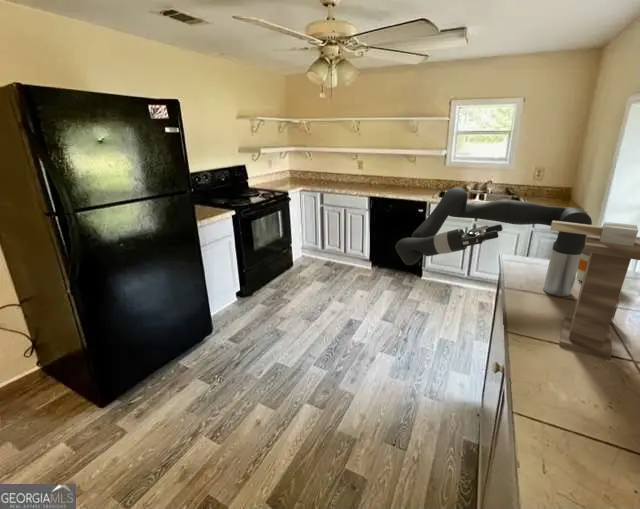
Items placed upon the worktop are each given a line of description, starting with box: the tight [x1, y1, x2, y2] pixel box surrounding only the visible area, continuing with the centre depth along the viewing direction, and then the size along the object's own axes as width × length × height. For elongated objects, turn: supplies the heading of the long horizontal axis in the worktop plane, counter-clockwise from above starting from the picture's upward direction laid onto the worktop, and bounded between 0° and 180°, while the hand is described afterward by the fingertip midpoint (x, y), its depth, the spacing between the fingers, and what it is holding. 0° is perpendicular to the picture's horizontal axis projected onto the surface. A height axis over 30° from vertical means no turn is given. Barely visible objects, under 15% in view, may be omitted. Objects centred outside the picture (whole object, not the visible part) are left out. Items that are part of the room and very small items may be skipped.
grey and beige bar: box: [550, 221, 639, 246], centre depth 96 cm, size 6×19×4 cm, turn 52°
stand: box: [558, 235, 640, 361], centre depth 100 cm, size 18×12×32 cm, turn 142°
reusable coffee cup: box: [576, 249, 590, 282], centre depth 141 cm, size 13×13×15 cm
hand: (499, 230), depth 109 cm, fingers open, 8 cm apart
